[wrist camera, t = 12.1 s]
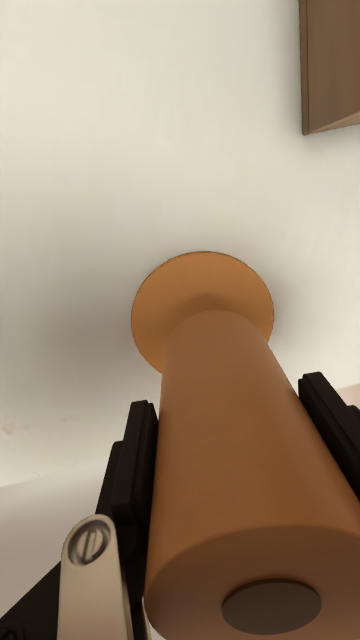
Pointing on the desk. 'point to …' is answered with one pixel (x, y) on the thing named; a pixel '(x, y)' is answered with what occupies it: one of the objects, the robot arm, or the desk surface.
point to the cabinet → (330, 64)
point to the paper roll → (245, 499)
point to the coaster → (196, 298)
